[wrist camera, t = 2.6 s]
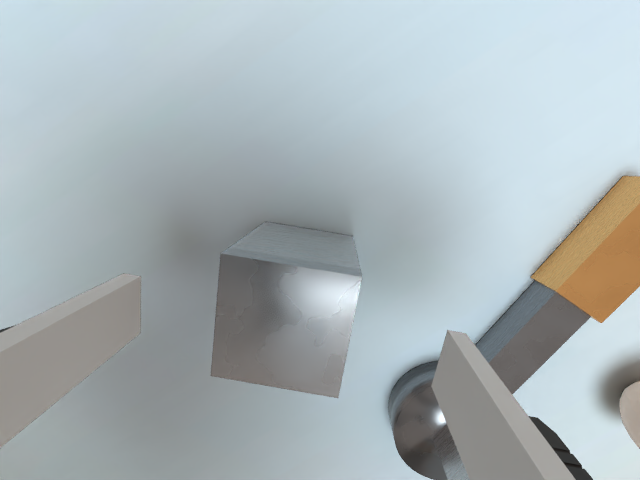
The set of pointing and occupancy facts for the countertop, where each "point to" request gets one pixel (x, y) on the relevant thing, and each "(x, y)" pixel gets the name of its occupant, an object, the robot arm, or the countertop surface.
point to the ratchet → (531, 325)
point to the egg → (631, 411)
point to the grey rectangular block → (286, 308)
